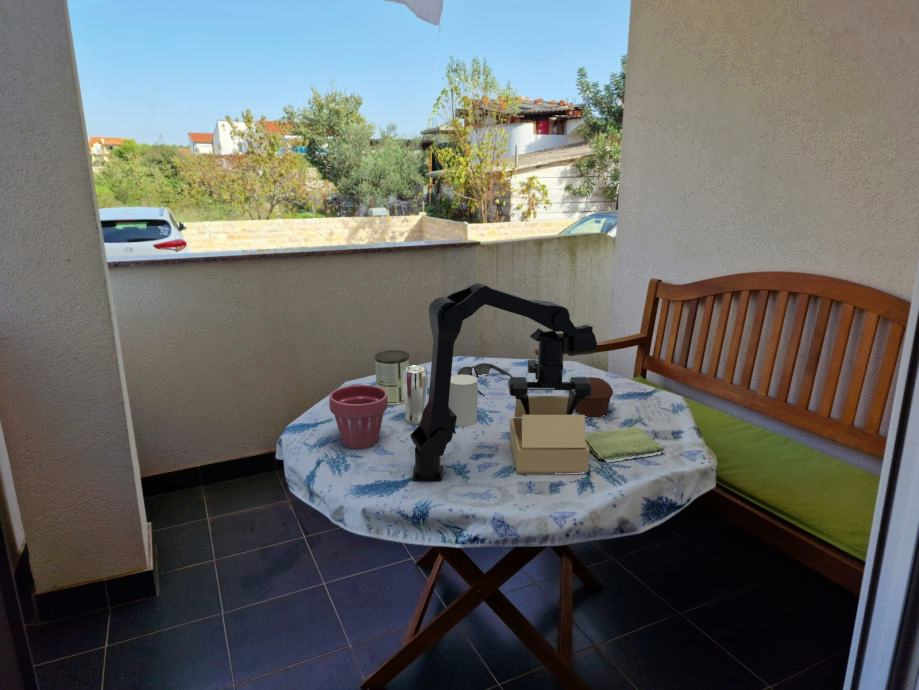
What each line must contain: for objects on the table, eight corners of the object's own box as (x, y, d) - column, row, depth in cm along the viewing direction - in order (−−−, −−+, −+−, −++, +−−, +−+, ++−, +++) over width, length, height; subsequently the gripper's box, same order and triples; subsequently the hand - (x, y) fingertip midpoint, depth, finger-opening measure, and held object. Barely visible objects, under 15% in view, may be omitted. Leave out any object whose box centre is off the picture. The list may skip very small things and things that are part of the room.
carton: (587, 474, 124) (589, 450, 123) (516, 474, 124) (517, 450, 123) (572, 439, 142) (573, 417, 140) (509, 439, 142) (510, 417, 140)
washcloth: (576, 442, 141) (577, 430, 140) (638, 435, 145) (639, 423, 144) (600, 466, 129) (601, 453, 128) (667, 458, 133) (669, 445, 132)
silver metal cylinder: (421, 427, 149) (420, 374, 145) (398, 423, 151) (397, 371, 147) (432, 417, 155) (431, 366, 151) (410, 413, 158) (408, 363, 153)
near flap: (521, 414, 124) (522, 414, 123) (584, 414, 124) (584, 414, 123) (521, 447, 123) (522, 447, 123) (584, 447, 123) (585, 447, 123)
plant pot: (398, 433, 145) (397, 388, 141) (372, 457, 132) (370, 407, 128) (350, 426, 149) (348, 381, 146) (321, 448, 137) (317, 399, 133)
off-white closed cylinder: (483, 420, 153) (483, 379, 150) (462, 429, 148) (462, 386, 144) (462, 412, 159) (462, 372, 155) (441, 420, 153) (441, 379, 150)
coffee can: (379, 392, 174) (377, 349, 170) (411, 393, 173) (411, 350, 170) (373, 405, 164) (371, 359, 160) (408, 405, 163) (407, 360, 160)
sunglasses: (490, 373, 192) (492, 360, 191) (521, 393, 180) (523, 379, 178) (451, 382, 183) (452, 368, 182) (481, 403, 171) (482, 389, 169)
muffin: (598, 402, 166) (600, 371, 163) (619, 416, 156) (622, 383, 153) (563, 407, 162) (564, 375, 160) (582, 422, 152) (585, 388, 149)
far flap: (573, 397, 135) (573, 395, 135) (516, 397, 135) (516, 395, 135) (569, 417, 139) (569, 415, 140) (514, 417, 139) (514, 415, 140)
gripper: (583, 347, 134) (579, 407, 139) (507, 347, 134) (505, 407, 139) (594, 361, 124) (589, 425, 128) (511, 361, 124) (509, 425, 128)
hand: (547, 420), depth 131 cm, fingers open, 9 cm apart
